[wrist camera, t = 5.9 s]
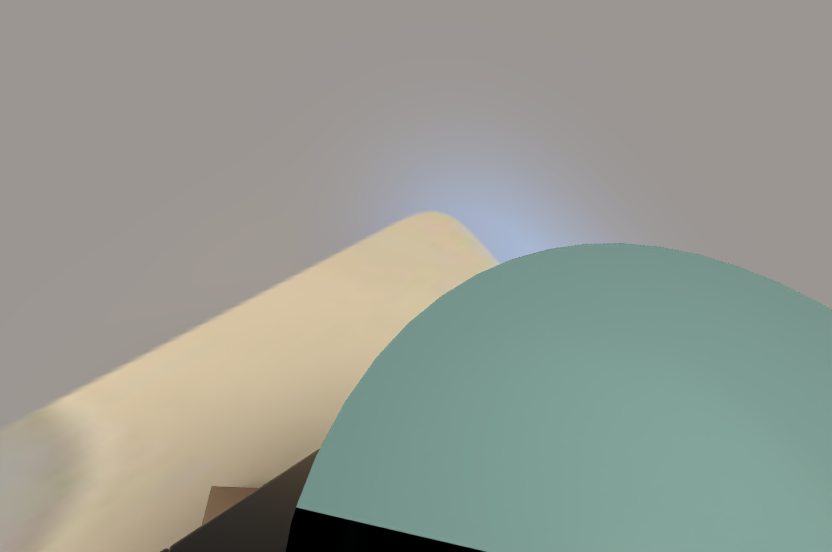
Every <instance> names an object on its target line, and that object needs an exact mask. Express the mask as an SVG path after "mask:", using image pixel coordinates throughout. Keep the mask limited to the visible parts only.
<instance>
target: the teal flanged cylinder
mask: <svg viewBox="0 0 832 552" xmlns="http://www.w3.org/2000/svg"><path fill="white" fill-rule="evenodd" d="M332 546H333V552H832V309H830V308H828V307H826V306H825V305H823V304H821V303H819V302H817V301H815V300H813V299H811V298H809V297H807V296H805V295H803V294H801V293H799V292H797V291H795V290H793V289H791V288H789V287H787V286H785V285H783V284H781V283H779V282H776V281H774V280H771V279H769V278H766V277H764V276H761V275H759V274H756V273H754V272H751V271H749V270H746V269H744V268H741V267H738V266H735V265H732V264H729V263H725V262H722V261H719V260H715V259H712V258H708V257H705V256H702V255H698V254H693V253H688V252H683V251H678V250H673V249H668V248H663V247H656V246H645V245H635V244H624V243H614V244H582V245H575V246H568V247H561V248H554V249H548V250H544V251H540V252H537V253H533V254H530V255H526V256H522V257H519V258H515V259H512V260H509V261H507V262H505V263H502V264H500V265H498V266H495V267H493V268H491V269H488V270H486V271H484V272H481V273H479V274H477V275H475V276H474V277H472V278H470V279H469V280H467V281H465V282H464V283H462V284H460V285H459V286H457V287H455V288H454V289H452V290H451V291H449V292H447V293H446V294H444V295H442V296H441V297H440V298H439V299H437V300H436V301H435V302H434V303H433V304H431V305H430V306H429V307H428V308H426V309H425V310H424V311H423V312H422V313H420V314H419V315H418V316H417V317H415V318H414V319H413V320H412V321H411V322H409V323H408V324H407V325H406V326H405V328H404V329H403V330H402V331H401V332H400V333H399V334H398V335H397V336H396V337H395V338H394V339H393V340H392V342H391V343H390V344H389V345H388V346H387V347H386V348H385V349H384V350H383V351H382V352H381V353H380V354H379V356H378V357H377V358H376V359H375V360H374V362H373V363H372V365H371V366H370V367H369V369H368V370H367V372H366V373H365V375H364V376H363V377H362V379H361V380H360V382H359V383H358V384H357V386H356V387H355V389H354V390H353V391H352V393H351V394H350V396H349V397H348V399H347V400H346V401H345V403H344V405H343V407H342V409H341V410H340V412H339V414H338V416H337V418H336V420H335V422H334V424H333V425H332V427H331V429H330V431H329V433H328V435H327V437H326V439H325V440H324V442H323V444H322V446H321V448H320V450H319V452H318V453H317V455H316V458H315V460H314V463H313V465H312V468H311V470H310V473H309V475H308V478H307V481H306V483H305V486H304V488H303V491H302V493H301V496H300V498H299V501H298V503H297V506H296V509H295V512H294V515H293V519H292V522H291V526H290V531H289V537H288V542H287V547H286V552H330V550H331V547H332Z"/></svg>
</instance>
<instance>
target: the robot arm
mask: <svg viewBox="0 0 832 552" xmlns="http://www.w3.org/2000/svg"><path fill="white" fill-rule="evenodd" d="M319 450H320V449H318V450H317V451H315V452H314V453H312V454H311V455H309V456H308V457H306V458H304V459H303V460H301V461H300V462H298V463H297V464H295V465H294V466H292V467H291V468H289V469H288V470H286V471H285V472H283V473H282V474H280V475H279V476H277V477H276V478H274V479H272V480H271V481H269V482H268V483H266V484H265V485H263V486H262V487H260V488H259V489H257V490H256V491H254V492H253V493H251V494H250V495H248V496H247V497H245V498H244V499H242V500H240V501H239V502H237V503H236V504H234V505H233V506H231V507H230V508H228V509H227V510H225V511H224V512H222V513H221V514H219V515H218V516H216V517H215V518H213V519H211V520H210V521H208V522H207V523H205V524H204V525H202V526H201V527H199V528H198V529H196V530H195V531H193V532H192V533H190V534H189V535H187V536H186V537H184V538H183V539H181V540H179V541H178V542H176V543H175V544H173V545H172V546H171V547H170V549H164V550H162V551H161V552H286V547H287V542H288V537H289V531H290V526H291V522H292V519H293V515H294V512H295V509H296V506H297V503H298V501H299V498H300V496H301V493H302V491H303V488H304V486H305V483H306V481H307V478H308V475H309V473H310V470H311V468H312V465H313V463H314V460H315V458H316V455H317V453H318V452H319ZM330 552H333V546H332V547H331V550H330Z"/></svg>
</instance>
